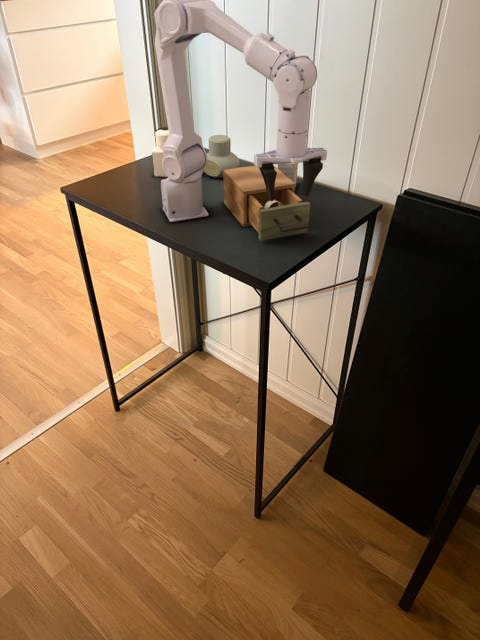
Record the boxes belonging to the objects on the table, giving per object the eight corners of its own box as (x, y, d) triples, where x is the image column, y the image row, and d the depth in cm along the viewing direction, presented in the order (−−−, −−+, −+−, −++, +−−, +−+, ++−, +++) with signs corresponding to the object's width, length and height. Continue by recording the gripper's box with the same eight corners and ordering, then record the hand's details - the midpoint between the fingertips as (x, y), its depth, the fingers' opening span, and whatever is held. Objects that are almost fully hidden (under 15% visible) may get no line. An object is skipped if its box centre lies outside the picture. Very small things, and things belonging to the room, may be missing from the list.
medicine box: (293, 196, 126) (295, 163, 121) (276, 194, 127) (277, 161, 122) (296, 184, 132) (299, 152, 127) (280, 182, 133) (281, 150, 128)
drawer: (318, 242, 106) (321, 213, 102) (269, 251, 103) (270, 222, 98) (284, 208, 119) (285, 181, 114) (240, 216, 115) (240, 188, 111)
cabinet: (292, 218, 117) (295, 183, 111) (243, 227, 113) (243, 191, 108) (270, 195, 127) (271, 163, 121) (223, 203, 123) (223, 169, 118)
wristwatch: (260, 222, 110) (260, 202, 107) (276, 216, 113) (277, 195, 110) (268, 227, 109) (269, 206, 106) (285, 220, 111) (286, 200, 108)
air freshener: (196, 173, 138) (194, 137, 132) (215, 165, 143) (214, 130, 137) (225, 183, 133) (224, 146, 126) (244, 174, 138) (245, 138, 131)
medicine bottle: (160, 167, 142) (156, 124, 134) (185, 168, 141) (182, 125, 134) (154, 176, 136) (149, 132, 129) (179, 178, 136) (175, 133, 128)
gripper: (262, 139, 89) (260, 209, 97) (336, 132, 92) (328, 200, 100) (251, 127, 94) (250, 194, 102) (321, 121, 97) (314, 187, 105)
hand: (288, 196), depth 102 cm, fingers open, 7 cm apart
